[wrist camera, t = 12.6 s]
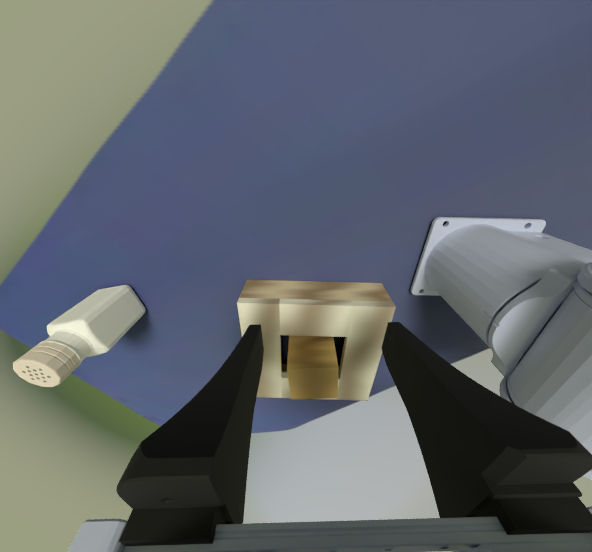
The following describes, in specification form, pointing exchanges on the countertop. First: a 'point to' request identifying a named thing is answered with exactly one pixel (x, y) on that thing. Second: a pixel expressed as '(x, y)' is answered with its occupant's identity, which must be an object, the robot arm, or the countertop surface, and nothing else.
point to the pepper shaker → (81, 335)
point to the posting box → (318, 328)
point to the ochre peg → (312, 367)
